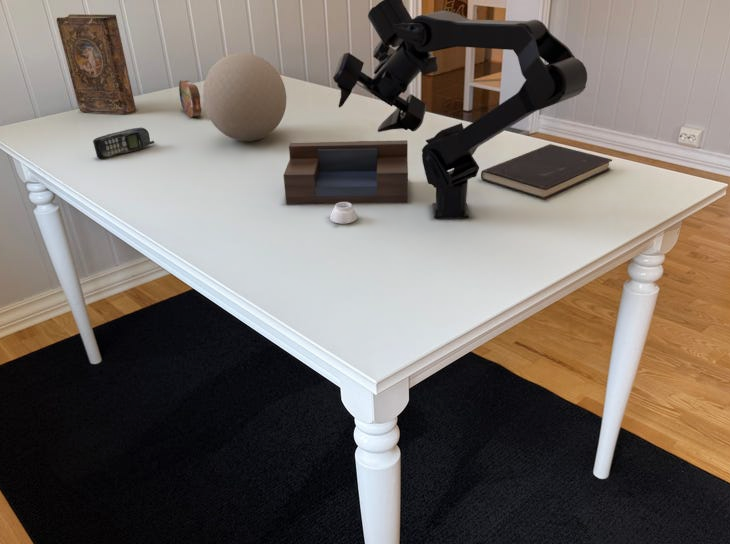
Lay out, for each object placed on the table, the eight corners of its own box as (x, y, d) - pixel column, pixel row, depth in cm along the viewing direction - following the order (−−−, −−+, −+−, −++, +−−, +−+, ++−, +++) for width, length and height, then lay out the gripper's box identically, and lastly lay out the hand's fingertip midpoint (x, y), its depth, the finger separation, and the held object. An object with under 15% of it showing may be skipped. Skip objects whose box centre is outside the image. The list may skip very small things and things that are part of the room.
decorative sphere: (196, 150, 165) (181, 62, 154) (228, 126, 181) (216, 45, 170) (274, 153, 161) (265, 63, 150) (299, 128, 177) (293, 45, 165)
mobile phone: (94, 140, 159) (153, 125, 166) (89, 137, 161) (148, 122, 168) (100, 161, 162) (158, 145, 169) (95, 158, 164) (152, 142, 171)
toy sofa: (407, 202, 133) (408, 159, 128) (286, 204, 135) (282, 162, 130) (407, 180, 143) (407, 140, 138) (293, 182, 145) (290, 142, 140)
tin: (181, 108, 198) (175, 77, 193) (191, 106, 199) (186, 76, 194) (193, 120, 187) (188, 88, 182) (205, 119, 188) (199, 87, 183)
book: (139, 109, 199) (119, 14, 184) (128, 114, 194) (107, 17, 180) (90, 107, 203) (67, 14, 189) (79, 112, 199) (55, 17, 184)
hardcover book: (610, 170, 144) (612, 159, 142) (544, 200, 132) (546, 188, 130) (546, 153, 154) (547, 143, 152) (480, 180, 142) (481, 169, 140)
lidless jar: (362, 218, 128) (342, 212, 130) (362, 203, 126) (341, 197, 129) (345, 227, 125) (325, 221, 127) (344, 212, 123) (324, 206, 126)
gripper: (450, 65, 129) (405, 113, 142) (368, 8, 122) (328, 64, 135) (440, 108, 124) (394, 153, 137) (354, 50, 118) (314, 104, 131)
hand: (359, 117), depth 135 cm, fingers open, 9 cm apart
